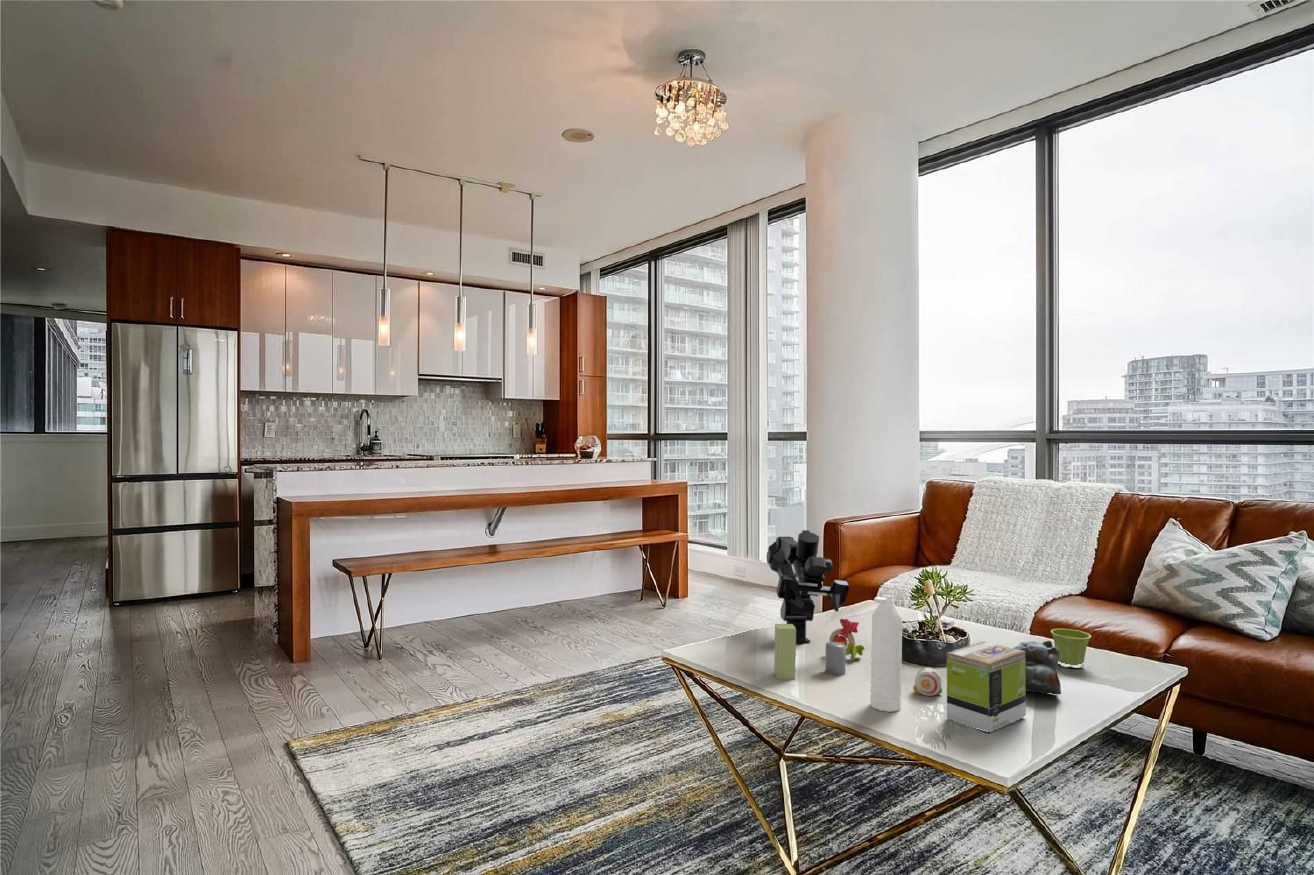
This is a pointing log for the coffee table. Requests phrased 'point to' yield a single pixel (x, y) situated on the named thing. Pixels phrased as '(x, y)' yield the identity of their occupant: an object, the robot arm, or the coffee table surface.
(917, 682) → the roller toy
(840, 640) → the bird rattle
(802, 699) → the coffee table surface
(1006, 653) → the tea box
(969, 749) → the coffee table surface
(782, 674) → the olive brick
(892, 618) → the water bottle
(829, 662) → the grey cylinder
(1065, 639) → the plant pot
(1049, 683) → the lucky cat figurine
